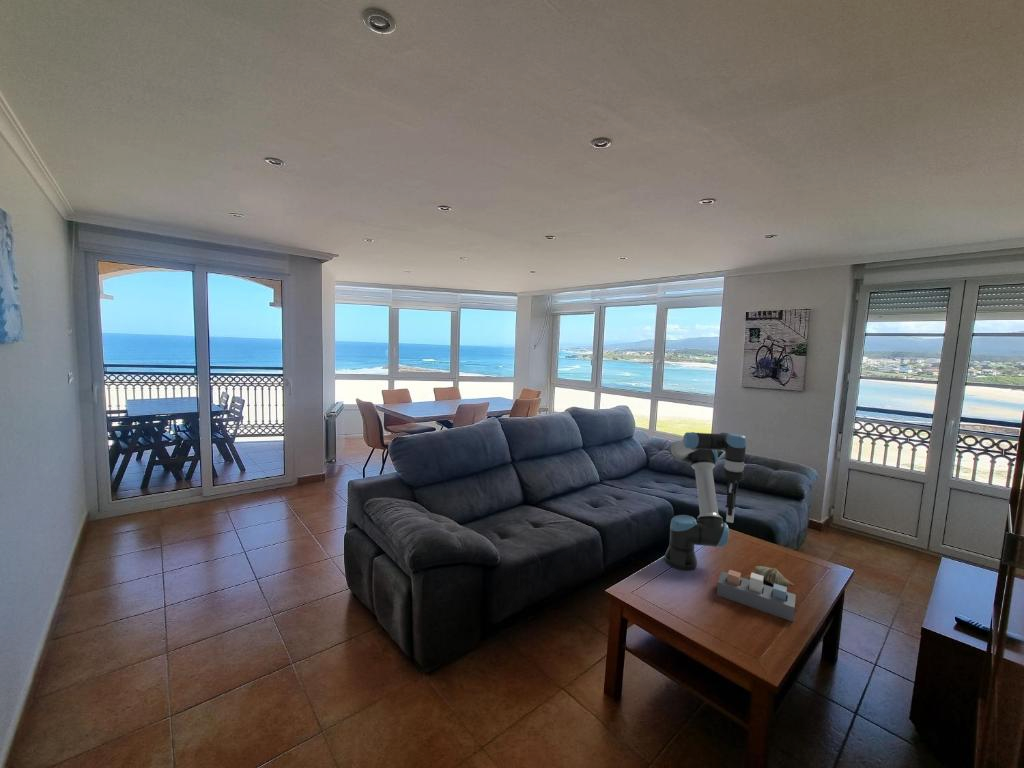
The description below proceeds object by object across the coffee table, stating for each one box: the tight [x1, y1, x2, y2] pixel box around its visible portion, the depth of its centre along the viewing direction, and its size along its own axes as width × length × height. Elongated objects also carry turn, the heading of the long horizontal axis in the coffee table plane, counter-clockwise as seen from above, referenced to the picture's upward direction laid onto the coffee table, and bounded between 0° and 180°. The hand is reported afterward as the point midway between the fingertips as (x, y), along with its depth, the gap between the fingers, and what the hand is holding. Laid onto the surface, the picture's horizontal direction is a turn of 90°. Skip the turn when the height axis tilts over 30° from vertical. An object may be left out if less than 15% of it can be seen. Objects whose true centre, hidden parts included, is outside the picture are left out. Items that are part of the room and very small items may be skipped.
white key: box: [749, 572, 764, 593], centre depth 176 cm, size 5×5×7 cm
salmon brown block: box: [727, 569, 742, 586], centre depth 181 cm, size 5×5×7 cm
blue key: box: [772, 583, 788, 601], centre depth 171 cm, size 5×5×7 cm
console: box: [716, 571, 796, 622], centre depth 177 cm, size 28×11×6 cm, turn 53°
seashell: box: [755, 565, 795, 587], centre depth 189 cm, size 14×9×10 cm
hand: (729, 521), depth 181 cm, fingers closed
